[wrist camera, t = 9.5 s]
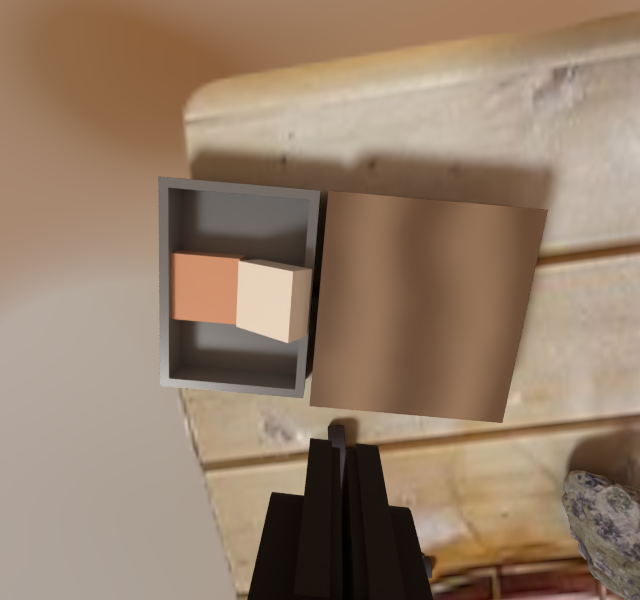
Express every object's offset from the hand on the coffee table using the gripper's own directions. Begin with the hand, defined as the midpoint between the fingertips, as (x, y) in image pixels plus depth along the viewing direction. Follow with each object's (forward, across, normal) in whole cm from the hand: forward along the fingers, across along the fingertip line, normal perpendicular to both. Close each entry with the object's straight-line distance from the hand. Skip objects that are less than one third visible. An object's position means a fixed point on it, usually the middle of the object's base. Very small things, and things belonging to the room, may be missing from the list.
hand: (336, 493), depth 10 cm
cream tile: (+17, +4, -1) cm, 18 cm away
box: (+19, +7, -1) cm, 21 cm away
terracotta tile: (+17, +9, -1) cm, 19 cm away
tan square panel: (+20, -5, -1) cm, 20 cm away
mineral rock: (+20, -25, +16) cm, 36 cm away
